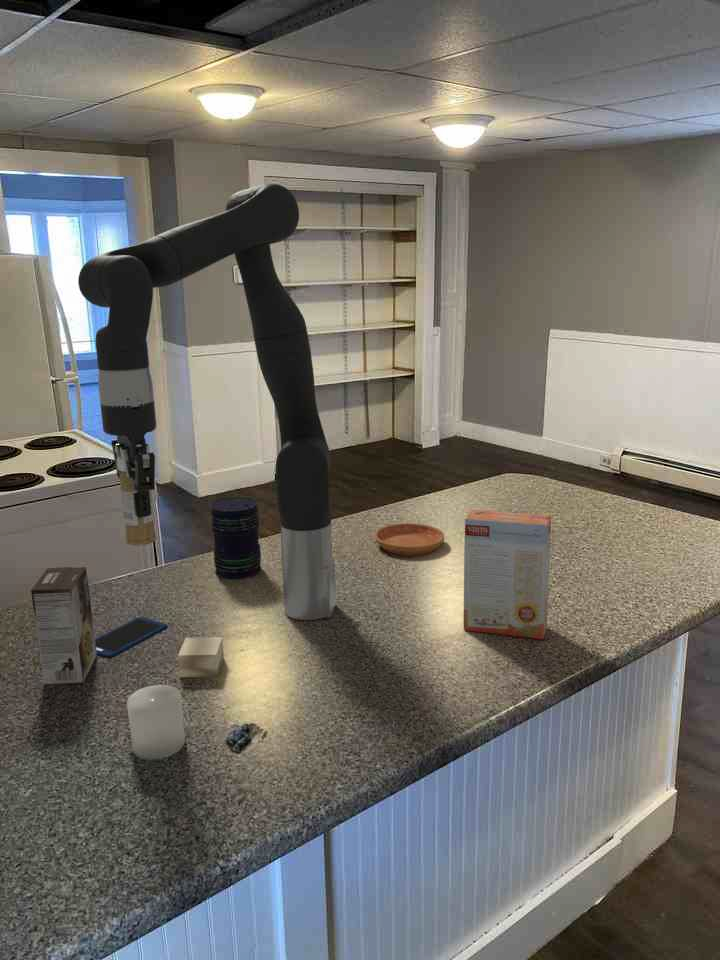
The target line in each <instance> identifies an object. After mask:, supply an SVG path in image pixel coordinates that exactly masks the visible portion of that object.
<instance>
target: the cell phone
mask: <svg viewBox="0 0 720 960" xmlns="http://www.w3.org/2000/svg"><path fill="white" fill-rule="evenodd" d="M165 629H168V624H166V623H164V622H160V621H158V620H154V619H151V618H147V617H143V616H142V617H141V616H140V617H137V618H134V619H132V620H130V621H128V622H127V623H124V624H123V625H120V626H118V627H115V628H114V629H113V630H110V631H108V632H106V633H104V634H102V635H100V636H99V637H95V643H96V651H97V656H99V657H102V658H104V659H105V658H106V659H110V658H113V657H116V656H117V655H119V654H121V653H124V652H125V651H126V650H129V649H130V648H133V647H134V646H136V645H137V644H140V643H141V642H144V641H145V640H148V639H149V638H151V637H153V636H154V635H156V634H158V633H160V632H162V631H164V630H165Z"/></svg>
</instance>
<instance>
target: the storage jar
mask: <svg viewBox="0 0 720 960" xmlns="http://www.w3.org/2000/svg"><path fill="white" fill-rule="evenodd" d="M210 512H211V513H210V514H211V516H210V521H211V530H212V532H213V539H214V540H213V542H214V547H213V562H214V567H215V570H214V571H215V573H214V574H215V576H216V577H218V578H220V579H223V580H230V581H231V580H232V581H233V580H234V581H235V580H236V581H237V580H238V581H239V580H245V579H251V578H253V577H255V576H257V575H259V574H260V573H261V571H262V566H261V562H262V554H261V545H260V543H259V527H260V523H259V521H260V520H259V519H260V517H259V516H260V515H259V508H258V501H257V500H256V499H254V498H252V497H251V498H250V497H243V496H241V497H240V496H236V497H226V498H221V499H218V500H217V499H216V500H215V501H213V502H212V503H211V504H210Z"/></svg>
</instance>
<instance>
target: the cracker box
mask: <svg viewBox="0 0 720 960" xmlns="http://www.w3.org/2000/svg"><path fill="white" fill-rule="evenodd" d="M551 524H552V516H551V515H548V514H547V515H546V514H531V513H523V512H522V513H520V512H518V513H517V512H504V511H493V510H480V509H479V510H478V509H471V510H470V512H469V514H468V515H467V516H466V518H464V554H463V556H464V561H463V562H464V563H463V565H464V566H463V567H464V568H463V630H464V631H469V632H470V631H471V632H478V633H479V632H481V633H485V634H486V633H487V634H495V635H503V636H510V637H511V636H512V637H520V638H527V639H535V640H544V638H545V634H546V630H547V626H548V607H549V606H548V605H549V583H550V581H549V580H550V560H551V559H550V556H551V555H550V554H551V533H552V531H551V528H552V527H551V526H552V525H551Z"/></svg>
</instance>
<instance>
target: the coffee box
mask: <svg viewBox="0 0 720 960" xmlns="http://www.w3.org/2000/svg"><path fill="white" fill-rule="evenodd" d="M89 589H90V588H89V581H88V574H87V567H86V566H80V567H70V566H68V567H65V566H64V567H49V568H46V569H45V570H44V572H43V574H41V576H40V577H39V579H38V580H37V582H36V583H35V584H34V586H33V587H32V588H31V590H30V593H31V600H32V609H33V614H34V620H35V621H34V623H35V627H36V635H37V641H38V642H37V643H38V650H39V656H40V665H41V672H42V678H43V684H44V685H56V684H58V685H59V684H75V683H76V684H77V683H84V682H85V680H86V679H87V676H88V674H89V672H90V669H91V667H92V666H93V665H94V661H95V660H96V658H97V656H98V655H97V651H96V643H95V639H96V637H95V631H94V622H93V621H94V620H93V613H92V605H91V599H90V598H91V596H90V590H89Z"/></svg>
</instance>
